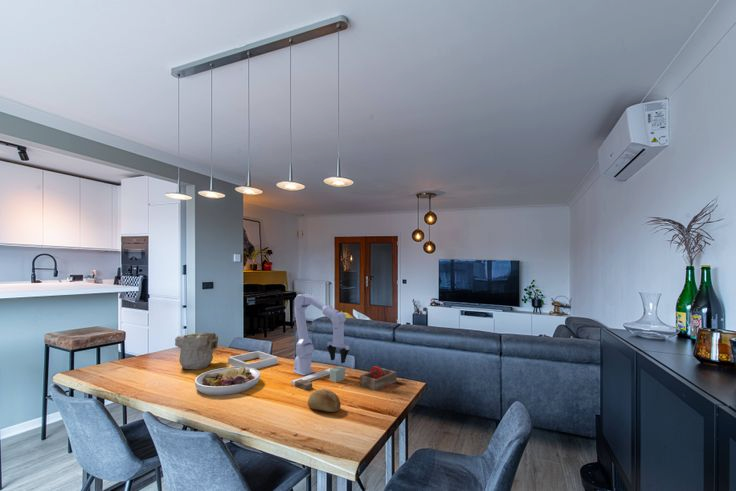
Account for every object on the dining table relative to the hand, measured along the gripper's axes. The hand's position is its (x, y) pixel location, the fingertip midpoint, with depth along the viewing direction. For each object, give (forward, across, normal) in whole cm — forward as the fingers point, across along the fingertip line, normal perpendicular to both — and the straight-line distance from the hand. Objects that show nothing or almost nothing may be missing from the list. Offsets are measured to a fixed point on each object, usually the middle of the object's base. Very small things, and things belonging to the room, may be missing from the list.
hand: (337, 361), depth 176 cm
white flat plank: (+10, -11, -6) cm, 16 cm away
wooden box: (+10, +20, +10) cm, 24 cm away
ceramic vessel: (+10, -79, -37) cm, 88 cm away
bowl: (+10, -35, -42) cm, 56 cm away
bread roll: (+10, +21, -30) cm, 38 cm away
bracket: (+10, +20, +10) cm, 24 cm away
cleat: (+10, -5, -19) cm, 22 cm away
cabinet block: (+10, 0, 0) cm, 10 cm away
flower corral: (+10, -58, -14) cm, 60 cm away
